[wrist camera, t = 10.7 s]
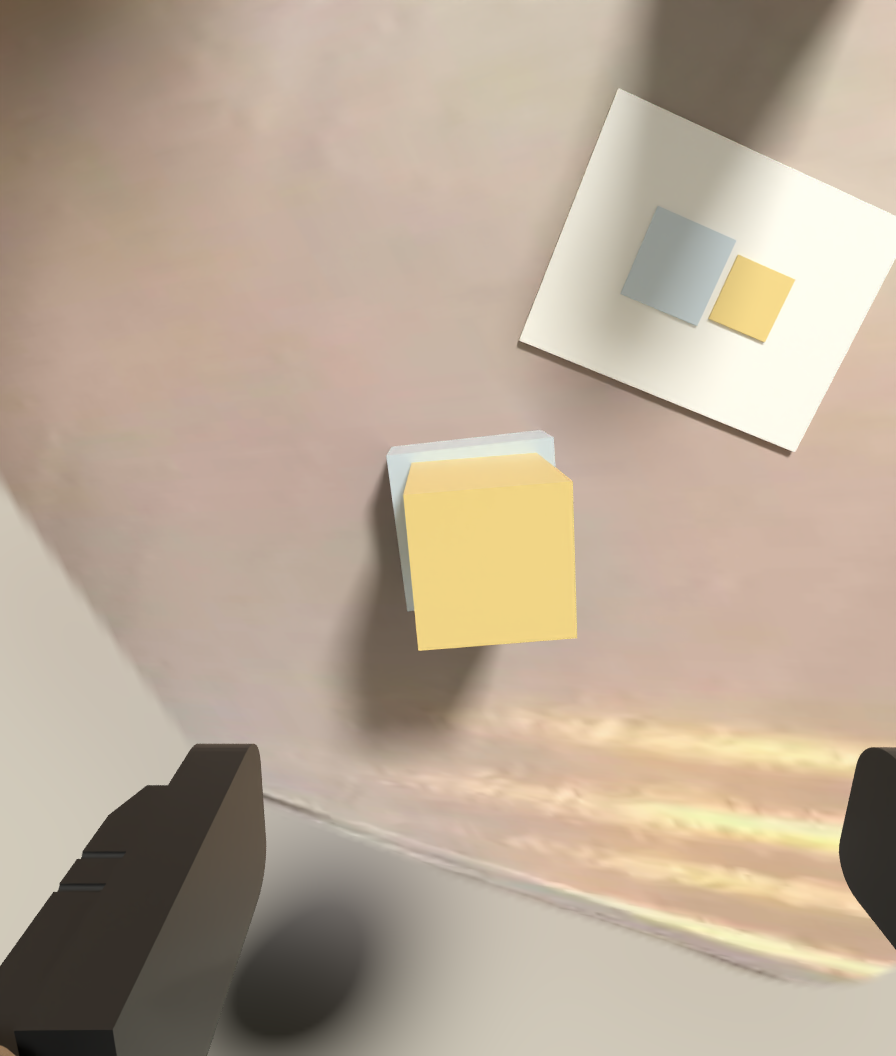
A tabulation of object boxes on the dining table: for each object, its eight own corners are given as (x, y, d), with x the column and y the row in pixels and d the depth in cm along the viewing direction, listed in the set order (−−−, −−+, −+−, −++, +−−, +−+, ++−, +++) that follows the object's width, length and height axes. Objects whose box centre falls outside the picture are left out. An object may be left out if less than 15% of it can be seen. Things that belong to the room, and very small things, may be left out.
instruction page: (518, 340, 24) (519, 340, 23) (616, 90, 22) (619, 86, 21) (792, 451, 25) (796, 452, 25) (909, 225, 23) (915, 223, 23)
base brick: (410, 584, 27) (407, 611, 24) (392, 445, 25) (386, 455, 22) (550, 569, 26) (563, 594, 24) (540, 429, 25) (553, 437, 22)
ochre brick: (422, 581, 23) (418, 651, 17) (411, 462, 22) (403, 494, 16) (541, 571, 23) (577, 638, 17) (536, 452, 22) (572, 481, 16)
